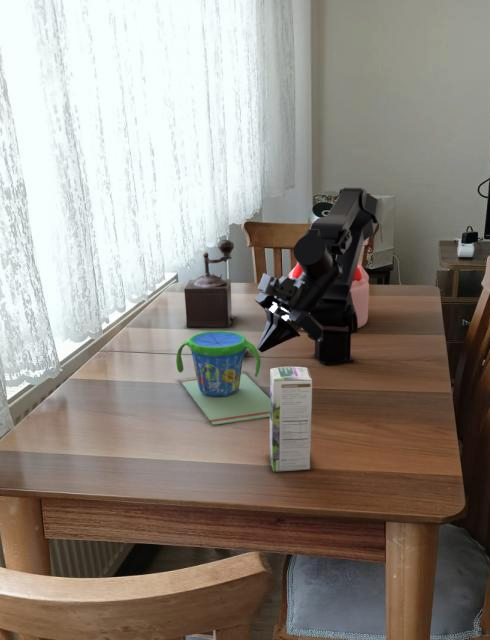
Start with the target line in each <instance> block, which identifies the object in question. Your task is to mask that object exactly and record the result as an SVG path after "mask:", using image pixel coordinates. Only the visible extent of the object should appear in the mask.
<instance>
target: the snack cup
mask: <svg viewBox="0 0 490 640" xmlns="http://www.w3.org/2000/svg"><path fill="white" fill-rule="evenodd" d="M185 346H187V347H188V348H189V350H190V352H191V356H192V360H193V361H192V362H193V367H194V372H195V376H196V377H195V378H197V381H198V386H199V389H200V391H201V392H202V393H204V394H205V395H210V396H219V395H221V396H227V395H230V394H233V393H235V392H236V391H238V389H239V385H240V377H241V372H242V371H243V369H242V368H243V361H244V358H245V354H246V353H245V350H246V348H248V349H249V351H250V353H251V354H252V356H253V357H254V359H255V360H256V363H255V364H256V365H255V373H254V377H255V378H258V375H259V373H260V369H261V358H260V353H259V350H258V349H257V347H256V346H255V345H254V344H253V343H251V342H250V341H249V340H247V338H246V336H245V335H243V334H241V333H239V332H235V331H228V330H212V331H211V330H209V331H204V332H203V331H202V332H199V333H196V334H194V335H192V336H191V337H189V338H188V339H186V340H185V341H184V342H183V343H181V345H180V346H179V347H178V350H177V353H176V358H175V359H176V361H175V363H176V369H177V372H178V373H180V374H182V373H183V371H184V363H183V358H182V352H183V348H184V347H185Z"/></svg>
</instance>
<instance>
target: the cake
mask: <svg viewBox="0 0 490 640" xmlns="http://www.w3.org/2000/svg"><path fill="white" fill-rule="evenodd" d="M302 273H303V270H302V268H301V267H300V265H299V263H298V262H297V261H296V265H295V267H293V269H292V270H290V272H289V273H288V278H290V279H291V278H293V277H294V278H297V279H298V278H299V276H300V275H301V274H302ZM369 281H370V276H369V274H368V273H367V271H366V270H365V269H364V267H363V264H362V262H361V261H360V262H358V264H357V268H356V271H355V275H354V278H353V282H352V285H351V289H350V292H351V295H352V301H353V305H354V307H355V311H356V314H357V318H358V329H359V328H362V327H363V326H365V325H367V322H368V317H369V300H370V299H369V298H370V283H369ZM309 314H310V313H309ZM300 331H304V330H303V329H302V328H301V330H300Z"/></svg>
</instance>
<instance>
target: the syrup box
mask: <svg viewBox="0 0 490 640" xmlns="http://www.w3.org/2000/svg"><path fill="white" fill-rule="evenodd" d="M269 375H270V376H269V378H270V379H269V380H270V381H269V382H270V383H269V384H270V385H269V398H270V417H269V459H270V465H271V468H272V471H273V472H274V473H275V472H276V473H277V472H291V471H304V470H305V471H306V470H311V447H312V446H311V443H312V442H311V440H312V412H313V411H312V408H313V406H312V405H313V379H312V376H311V373H310V370H309V368H307V367H303V366H279V367H273V368H270V371H269Z"/></svg>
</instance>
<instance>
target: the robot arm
mask: <svg viewBox="0 0 490 640" xmlns="http://www.w3.org/2000/svg"><path fill="white" fill-rule="evenodd" d="M381 218H382V207H381V203H380V202H379V200H378V198H376V197H374V196H373V195H371V194H369V193H368V192H367V190H366V189H365V188H362V187H342V188H340V189H339V192H338V197H337V199H336V201H335V202H334V203H333V205H332V207H331V209H330V210H329V212H328V213H327V214H326V215H325V216H321V217H318V218H316V219H315V220H314V221H313V222H312V223H311V224H310V227H308V229H307V230H306V232H305V233H304V235H303V236H301V238H299V239H298V240H297V241H296V243H295V245H293V256H294V258H295V260H296V263H297V262H298V263H299V265H300V267H301V268H302V270H303V273H302V274H301V275H300V276H299V278H298V279H297V278H294V277H293V278H291V279H290V278H289V276H288V277H287V276H285V275H281V277H280V278H278V277H276V276H273V275H270V274H267V273H265V272H263V273H262V277H261V278H260V281H259V284H258V287H257V290H258V291H259V293H258V294H257V295H256V297H255V298H254V299H253V300H254V301H255V303H257V304H258V305H259V306H260V307H261V308H262V309H263V310H264V313H265V315H266V323H265V327H264V329H263V332H262V334H261V337H260V338H259V339H260V340H259V342H258V344H257V347H256V349H257V351H258V352H259V353H265V352H267V351H268V350H271V349H272V348H275V347H277V346H279V345H281V344H283V343H285V342H287V341H290V340H292V339H293V338H296V337H298V338H300V337H301V334H300V333H299V332H300V331H304V332H305V333H306V334H307V338H309V339H311V340H312V341H314V354H313V358H315V359H316V360H317V361H319V362H320V363H322V364H323V365H325V366H331V365H337V364H345V363H352V362H354V360H355V358H353V357H352V356H351V347H352V346H351V345H352V335H353V334H357V333H358V331H359V328H358V318H357V314H356V311H355V307H354V305H353V301H352V295H351V292H350V289H351V285H352V282H353V278H354V275H355V271H356V268H357V266H358V265H359V261H360V257H361V253H362V249H363V245H364V242H365V241H366V240H368V239H369V238H370V237H372V236H373V235H374V234H375V231H376V229H377V226H378V224H380V222H381ZM332 255H335V258H334V257H333V256H332ZM309 313H310V314H309ZM301 328H302V329H303V330H301Z"/></svg>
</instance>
